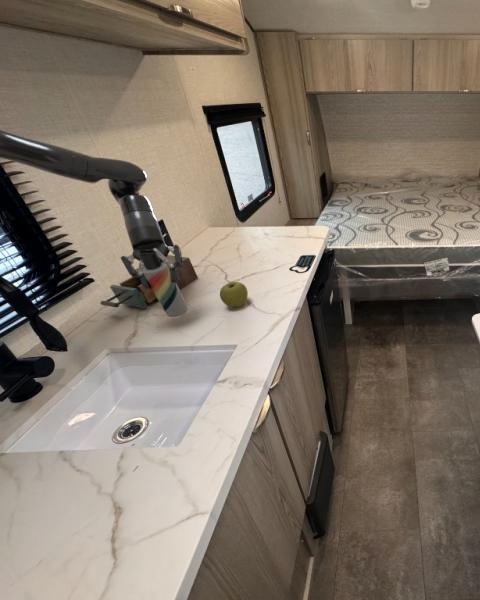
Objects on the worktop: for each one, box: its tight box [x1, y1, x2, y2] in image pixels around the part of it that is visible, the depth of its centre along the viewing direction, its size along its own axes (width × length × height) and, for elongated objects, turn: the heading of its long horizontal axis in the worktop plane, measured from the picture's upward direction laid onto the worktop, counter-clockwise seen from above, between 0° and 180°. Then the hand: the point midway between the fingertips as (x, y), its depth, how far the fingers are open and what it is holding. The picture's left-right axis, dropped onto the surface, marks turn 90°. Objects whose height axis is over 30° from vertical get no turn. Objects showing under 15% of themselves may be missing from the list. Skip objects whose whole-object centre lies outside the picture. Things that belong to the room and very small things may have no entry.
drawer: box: [100, 276, 158, 309], centre depth 106 cm, size 18×10×7 cm, turn 163°
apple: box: [219, 281, 249, 308], centre depth 103 cm, size 8×8×7 cm
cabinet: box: [134, 254, 199, 291], centre depth 115 cm, size 14×12×9 cm
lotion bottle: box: [139, 250, 189, 318], centre depth 91 cm, size 6×6×20 cm
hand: (162, 285), depth 89 cm, fingers closed on lotion bottle, 5 cm apart
